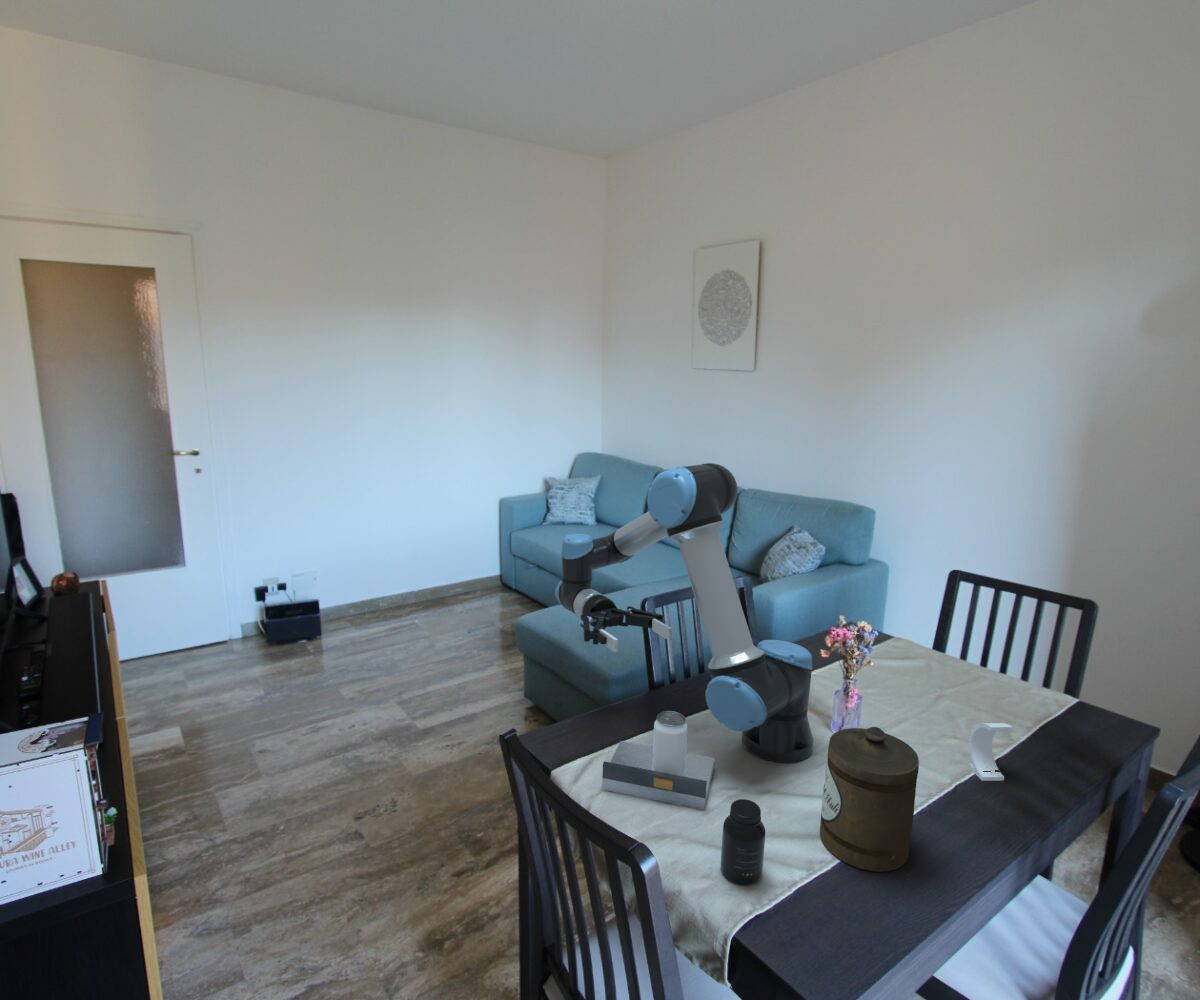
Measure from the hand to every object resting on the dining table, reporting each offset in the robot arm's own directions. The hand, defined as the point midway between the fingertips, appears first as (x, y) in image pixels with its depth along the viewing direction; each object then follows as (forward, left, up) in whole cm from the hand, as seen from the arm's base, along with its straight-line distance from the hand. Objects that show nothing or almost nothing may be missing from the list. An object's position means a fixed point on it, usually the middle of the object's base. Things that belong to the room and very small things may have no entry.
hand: (644, 640), depth 149 cm
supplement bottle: (-25, +33, -24) cm, 48 cm away
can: (-9, +13, -22) cm, 27 cm away
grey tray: (-7, +12, -24) cm, 28 cm away
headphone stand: (-71, -12, -24) cm, 76 cm away
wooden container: (-45, +19, -24) cm, 54 cm away
